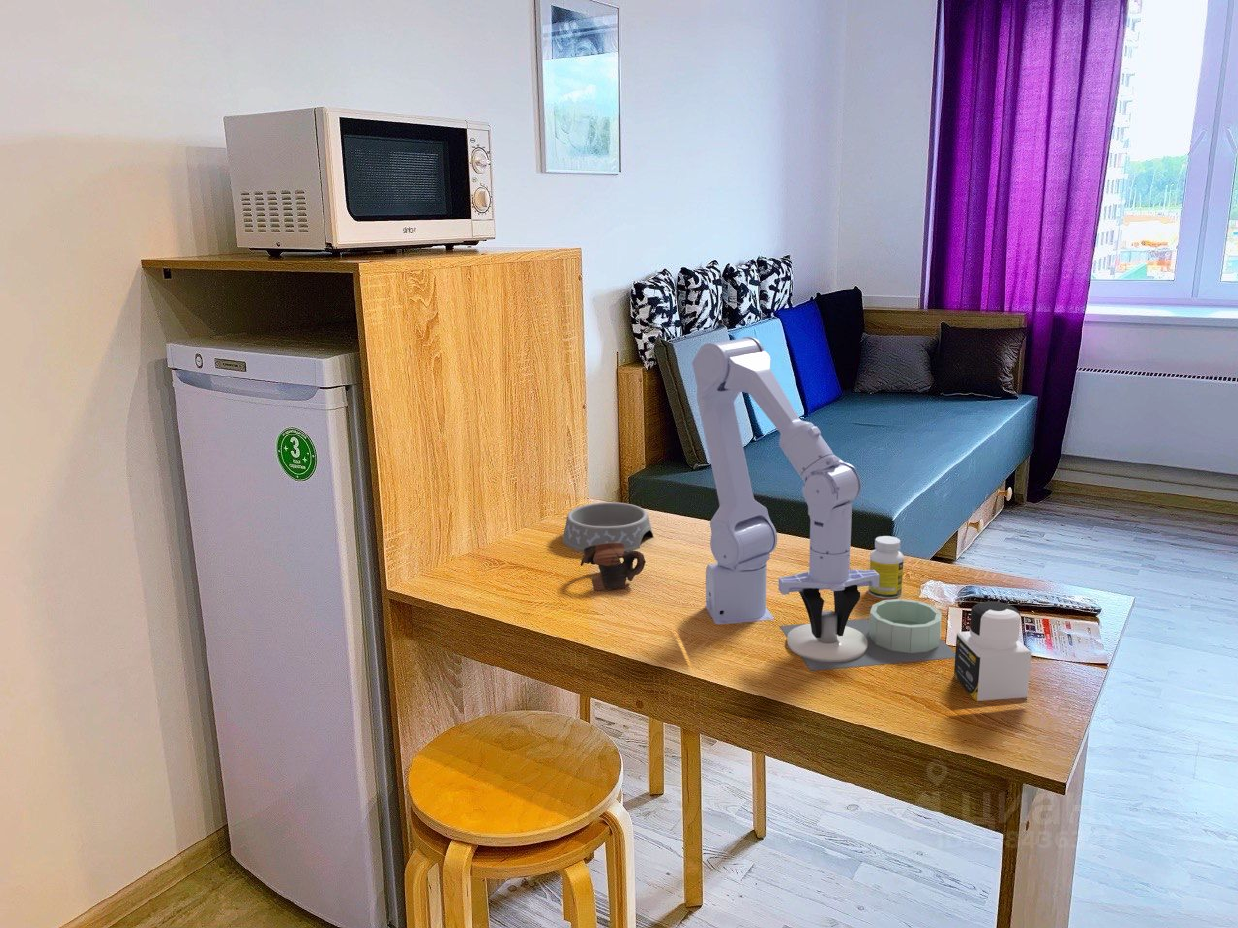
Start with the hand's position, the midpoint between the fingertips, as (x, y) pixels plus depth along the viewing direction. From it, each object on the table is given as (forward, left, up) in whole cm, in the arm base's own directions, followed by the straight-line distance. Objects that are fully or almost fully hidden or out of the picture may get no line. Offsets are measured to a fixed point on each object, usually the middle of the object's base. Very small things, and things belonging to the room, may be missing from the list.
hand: (827, 634), depth 142 cm
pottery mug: (-28, +32, -2) cm, 43 cm away
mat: (+6, 0, -2) cm, 6 cm away
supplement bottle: (+16, +17, -2) cm, 23 cm away
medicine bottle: (+17, -16, -2) cm, 23 cm away
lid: (0, 0, -2) cm, 2 cm away
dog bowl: (-26, +55, -3) cm, 61 cm away
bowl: (+12, 0, -2) cm, 12 cm away
